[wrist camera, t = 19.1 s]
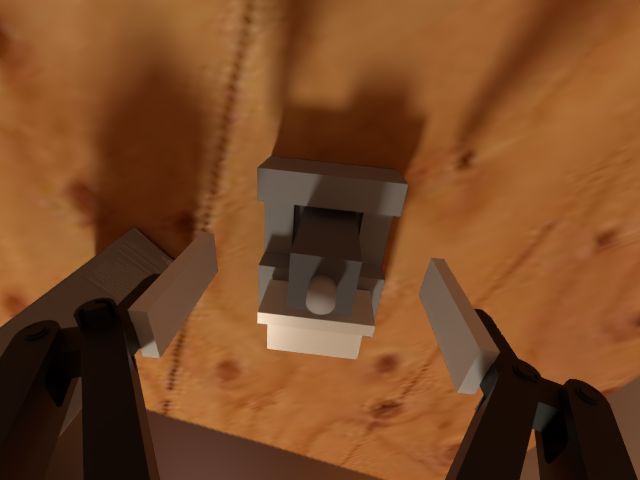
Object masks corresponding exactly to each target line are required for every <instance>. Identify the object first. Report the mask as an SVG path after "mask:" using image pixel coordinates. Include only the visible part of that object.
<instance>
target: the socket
mask: <svg viewBox="0 0 640 480" xmlns="http://www.w3.org/2000/svg"><path fill="white" fill-rule="evenodd" d="M257 172H258V201H265V253H264V255H263V257H262V259H261V261H260V263H259V307H260V304H261V302H262V299H263V297H264V294H265V291H266V289H267V286H268V284H269V281H270V279H272V280H281V281H289V266H290V253H291V249H292V246H293V243H294V240H295V237H296V234H297V231H298V228H299V224H300V221H301V218H302V215H303V212H304V209H305V206H310V207H319V208H328V209H336V210H345V211H354V212H356V218H357V225H358V233H359V241H360V249H361V257H362V265H361V270H360V275H359V279H358V284H357V290H366V291H370V294H371V300H372V307H373V314H374V320H375V317H376V313H377V309H378V305H379V301H380V297H381V293H382V289H383V285H384V281H385V279H384V275H383V271H382V261H383V257H384V253H385V249H386V244H387V240H388V236H389V232H390V227H391V223H392V219H393V216H399V217H401V213H402V209H403V205H404V201H405V197H406V192H407V188H408V183H407V182H406V181H405V179H404V178H403V177H402V175H401V174H400V173H399V171H398V170H394V169H385V168H375V167H366V166H357V165H348V164H339V163H330V162H321V161H312V160H303V159H294V158H285V157H276V156H270V157H269V158H268V159H267V160H266V161H265V162H263V163H262V164H261V165H260V166H259V167H258V168H257ZM259 324H260V323H259ZM263 325H268V324H263ZM363 337H369V336H363Z"/></svg>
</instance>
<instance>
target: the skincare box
mask: <svg viewBox="0 0 640 480" xmlns="http://www.w3.org/2000/svg"><path fill="white" fill-rule="evenodd" d="M173 261H174V260H173V259H171V258H170V257H169V256H168V255H166V254H165V253H164V252H162V251H161V250H160V249H159V248H158V247H157V246H155V245H154V244H153V243H152V242H151V241H150V240H148V239H147V238H146V237H145V236H144V235H143V234H142V233H141V232H140V231H139V230H137V229H136V228H132V229H130V230H129V231H127V232H126V233H125V234H124V235H122V236H121V237H120V238H118V239H117V240H116V241H115V242H113V243H112V244H111V245H109V246H108V247H107V248H105V249H104V250H103V251H101V252H100V253H99V254H97V255H96V256H95V257H93V258H92V259H91V260H89V261H88V262H87V263H85V264H84V265H83V266H81V267H80V268H79V269H77V270H76V271H75V272H73V273H72V274H71V275H69V276H68V277H67V278H65V279H64V280H63V281H61V282H60V283H59V284H57V285H56V286H55V287H53V288H52V289H51V290H49V291H48V292H47V293H45V294H44V295H43V296H41V297H40V298H39V299H37V300H36V301H35V302H33V303H32V304H31V305H29V306H28V307H27V308H25V309H24V310H23V311H21V312H20V313H19V314H17V315H16V316H15V317H13V318H12V319H11V320H9V321H8V322H7V323H5V324H4V325H3V326H1V327H0V357H1V356H2V354H3V352H4V351H5V349H6V348H7V346H8V345H9V343H10V341H11V340H12V338H13V337H14V336H15V335H16V334H17V332H18V331H20V330H22V329H23V328H25V327H26V326H28V325H31V324H33V323H36V322H39V321H43V320H54V321H57V322H58V323H59V325H60V327H61V328H69V327H77V326H78V325H77V322H76V320H75V318H74V316H73V314H74V312H75V310H76V309H77V308H78V307H79V306H80V305H82V304H84V303H85V302H88V301H90V300H93V299H97V298H111V299H113V300H114V301H115V303H116V305H118V304H119V303H120V302H121V301H122V300H123V299H124V298H125V297H126V296H127V295H128V294H129V293H131V291H132V290H133V289H134V288H135V287H137V285H138V284H139V283H140V282H141V281H142V280H143V279H145V278H146V277H148V276H150V275H152V274H154V273H155V274H162V273H163V272H164V271H165V270H166V269H167V268H168V267H169V266H170V265H171V264H172V263H173ZM81 408H82V380H81V377H79V378H78V381H77V384H76V387H75V390H74V393H73V396H72V399H71V402H70V405H69V408H68V411H67V414H66V417H65V420H64V423H63V425H62V428H61V431H60V434H59V436H60V435H61V434H62V433H63V431H64V430H65V429H66V428H67V426H68V425H69V424H70V422H71V421H72V420H73V418H74V417H75V416H76V415H77V413H78V412H79V411H80V409H81ZM58 438H59V437H58Z"/></svg>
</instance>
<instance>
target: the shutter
mask: <svg viewBox="0 0 640 480" xmlns="http://www.w3.org/2000/svg"><path fill="white" fill-rule="evenodd" d="M287 296H288V281H281V280H272V279H270V281H269V284H268V286H267V289H266V291H265V294H264V297H263V299H262V302H261V304H260V307H259V310H258V312H257V315H258V323H260V324H268V327H267V349H275V350H283V351H292V352H300V353H308V354H316V355H325V356H333V357H341V358H349V359H357V357H358V352H359V348H360V344H361V339H362V336H369V337H373V334H374V330H375V320H374V314H373V307H372V300H371V294H370V291H366V290H357V289H356V293H355V298H354V303H353V307H352V312H351V316H345V315H337V314H329V313H328V314H324V315H319V314H315V313H313V312H311V311H306V310H298V309H291V308H287Z"/></svg>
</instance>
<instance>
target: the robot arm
mask: <svg viewBox="0 0 640 480" xmlns="http://www.w3.org/2000/svg"><path fill="white" fill-rule="evenodd" d="M217 271H218V268H217V259H216V250H215V240H214V234H212V233H203V232H201V233H200V234H199V235H198V236H197V237H196V238H195V239H194V240H193V241H192V242H191V244H190V245H189V246H188V247H187V248H186V249H185V250H184V251H183V252H182V253H181V254H180V255H179V256H178V257H177V258H176V259H175V260H174V261H173V263H172V264H171V265H170V266H169V267H168V268H167V269H166V270H165V271H164V272H163V273H162V274H155V273H154V274H152V275H150V276H148V277H146V278H145V279H143V280H142V281H141V282H140V283H139V284H138V285H137V287H135V288H134V289H133V290H132V291H131V293H129V294H128V295H127V296H126V297H125V298H124V299H123V300H122V301H121V302H120V303H119V304H118V305H116V303H115V301H114V300H113V299H111V298H97V299H93V300H90V301H88V302H85V303H84V304H82V305H80V306H79V307H78V308H77V309H76V310H75V312H74V314H73V316H74V318H75V320H76V322H77V325H78V326H77V327H69V328H61V327H60V325H59V323H58V322H57V321H54V320H43V321H39V322H36V323H33V324H31V325H28V326H26V327H25V328H23V329H22V330H20V331H18V332H17V334H16V335H15V336H14V337H13V338H12V340H11V341H10V343H9V345H8V346H7V348H6V349H5V351H4V352H3V354H2V356H1V357H0V480H44V478H45V476H46V473H47V470H48V467H49V464H50V461H51V458H52V455H53V452H54V449H55V446H56V443H57V440H58V437H59V434H60V431H61V428H62V425H63V423H64V420H65V417H66V414H67V411H68V408H69V405H70V402H71V399H72V396H73V393H74V390H75V387H76V384H77V381H78V378H79V377H81V380H82V424H83V469H84V480H160V477H159V472H158V467H157V462H156V457H155V452H154V447H153V442H152V437H151V433H150V428H149V423H148V418H147V413H146V408H145V403H144V398H143V393H142V388H141V383H140V378H139V374H138V369H137V364H136V359H135V356H134V355H135V353H136V352H137V351H138V349H139V348H140V349H141V352H142V355H143V356H144V357H153V358H161V356H162V355H163V353H164V352H165V350H166V349H167V347H168V346H169V344H170V343H171V341H172V340H173V338H174V337H175V335H176V334H177V332H178V330H179V329H180V327H181V326H182V324H183V323H184V321H185V320H186V318H187V317H188V315H189V314H190V312H191V311H192V309H193V308H194V306H195V305H196V303H197V302H198V300H199V299H200V297H201V296H202V294H203V293H204V291H205V290H206V288H207V287H208V285H209V284H210V282H211V281H212V279H213V277H214V276H215V274H216V273H217ZM419 295H420V298H421V300H422V303H423V305H424V308H425V311H426V313H427V316H428V318H429V321H430V324H431V326H432V329H433V332H434V334H435V337H436V339H437V342H438V345H439V347H440V350H441V352H442V355H443V358H444V360H445V363H446V365H447V368H448V371H449V373H450V376H451V378H452V381H453V384H454V386H455V389H456V391H457V393H465V394H474V395H475V393H476V391H477V390H478V388H479V386H480V387H481V390H482V392H483V394H484V396H483V397H482V399H481V400H480V402H479V403H478V405H477V407H476V408H475V410H476V412H475V414H474V416H473V418H472V421H471V423H470V425H469V427H468V430H467V432H466V434H465V436H464V438H463V441H462V443H461V445H460V447H459V450H458V452H457V454H456V456H455V458H454V461H453V463H452V465H451V467H450V470H449V472H448V474H447V476H446V478H445V480H519V479H520V475H521V471H522V467H523V463H524V459H525V455H526V451H527V447H528V443H529V439H530V435H531V431H532V429H534V430H535V439H536V448H537V456H538V464H539V474H540V480H638V479H637V476H636V474H635V471H634V468H633V466H632V463H631V460H630V457H629V455H628V452H627V449H626V447H625V444H624V441H623V439H622V436H621V433H620V431H619V428H618V425H617V423H616V420H615V417H614V415H613V412H612V409H611V406H610V404H609V403H608V401H607V399H606V398H605V397H604V396H603V395H602V394H601V393H600V392H599V391H598V390H596V389H595V388H594V387H592V386H591V385H589V384H587V383H585V382H583V381H580V380H577V379H569V380H568V381H566V382H565V384H564V385H561V384H558V383H555V382H553V381H550V380H547V379H544V378H542V377H541V375H540V374H539V372H538V371H537V370H536V369H535V368H534V367H533V366H531V365H530V364H528V363H527V362H525V361H522V360H520V359H518V358H517V356H516V355H515V353H514V352H513V350H512V349H511V347H510V346H509V344H508V342H507V341H506V339H505V338H504V336H503V335H501V332H500V330H499V329H498V328H497V326H496V324H495V323H494V321H493V320H492V318H491V317H490V316H489V315H488V314H487V313H485V312H484V311H483V310H481V309H474V308H473V306H472V305H471V303H470V301H469V300H468V298H467V296H466V295H465V293H464V292H463V290H462V288H461V287H460V285H459V283H458V282H457V280H456V278H455V277H454V275H453V273H452V272H451V270H450V268H449V267H448V265H447V263H446V262H445V260H444V259H437V258H431V260H430V263H429V266H428V269H427V272H426V274H425V277H424V280H423V283H422V286H421V289H420V292H419Z"/></svg>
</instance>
